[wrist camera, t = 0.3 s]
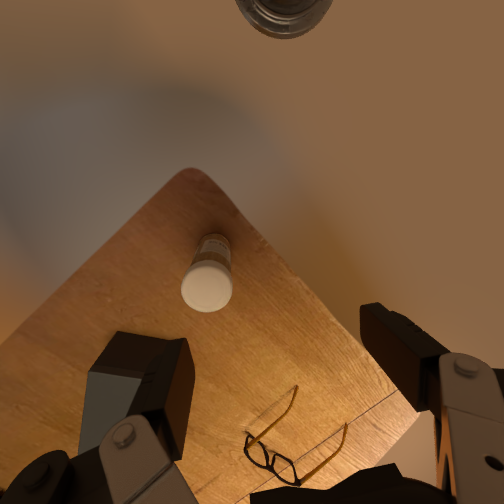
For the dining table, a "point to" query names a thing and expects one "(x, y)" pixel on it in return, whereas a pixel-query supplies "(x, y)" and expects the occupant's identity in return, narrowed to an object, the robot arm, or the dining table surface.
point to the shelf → (115, 384)
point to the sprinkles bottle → (209, 275)
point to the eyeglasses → (270, 467)
